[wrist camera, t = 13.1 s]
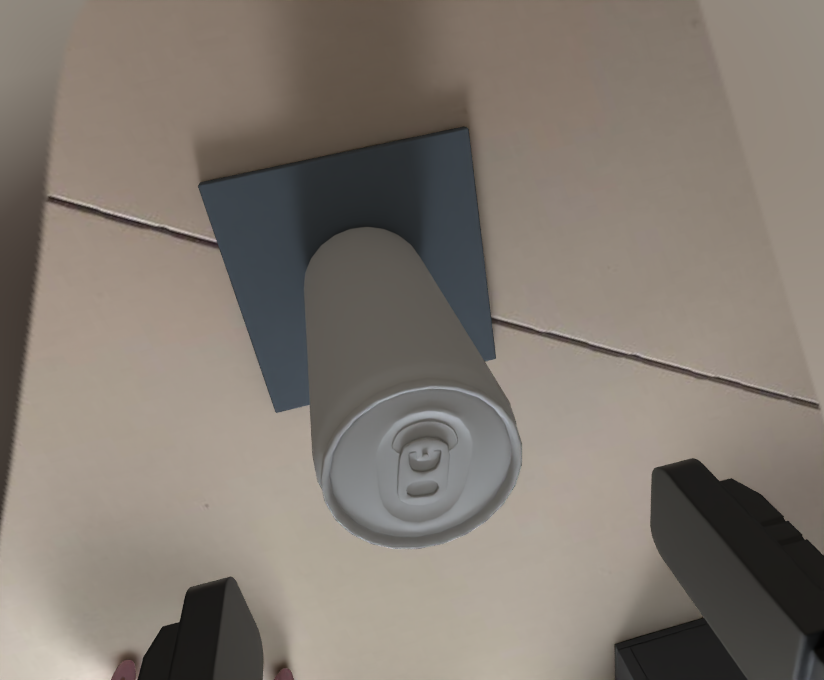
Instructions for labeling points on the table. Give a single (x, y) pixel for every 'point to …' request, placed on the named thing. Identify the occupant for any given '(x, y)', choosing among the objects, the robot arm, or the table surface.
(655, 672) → the bin
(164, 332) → the table surface
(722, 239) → the table surface
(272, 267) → the mat
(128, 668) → the video game controller
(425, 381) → the beverage can
